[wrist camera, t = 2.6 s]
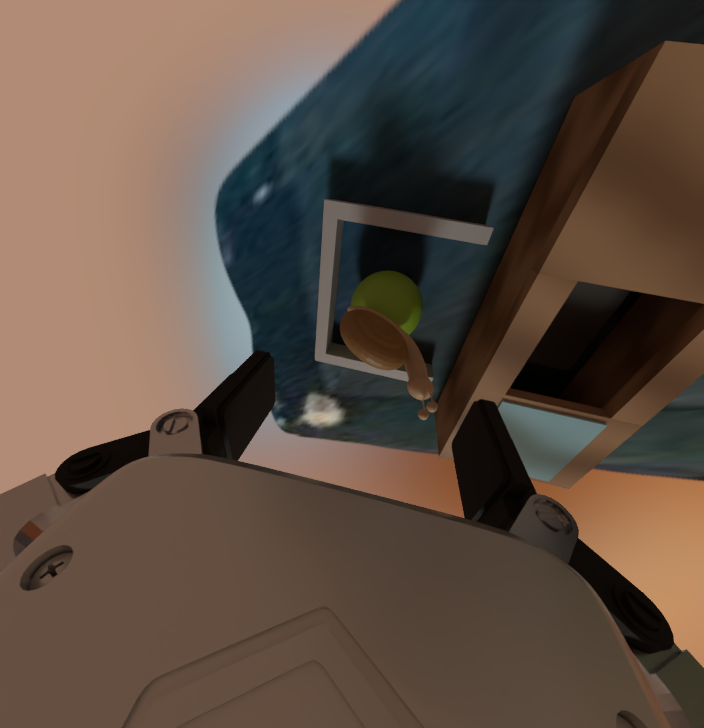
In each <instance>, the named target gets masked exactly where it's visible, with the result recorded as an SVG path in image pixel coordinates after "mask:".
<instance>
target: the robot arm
mask: <svg viewBox="0 0 704 728" xmlns="http://www.w3.org/2000/svg"><path fill="white" fill-rule="evenodd" d="M274 403H275V379H274V358H273V357H272V356H271V355H270V353H269V352H264V351H259V350H256V351H255V352H254V353H253V354H252V355H251V356H250V357H249V358H248V359H247V360H246V361H245V362H244V363H243V364H242V365H241V366H240V367H239V368H238V369H237V370H236V371H235V372H234V373H232V374H231V375H229V376H228V377H227V378H226V379H225V380H224V381H223V382H222V383H221V384H220V385H219V386H218V387H217V388H216V389H215V390H214V391H213V392H212V393H211V394H210V395H209V396H208V397H207V398H206V399H205V400H204V401H203V402H202V403H201V404H199V405H198V407H196V408H195V410H193V411H192V410H188V409H176V410H172V411H169V412H166V413H164V414H162V415H161V416H159V417H158V418H157V419H156V420H155V421H154V422H153V423H152V426H151V429H150V430H148V431H145V432H142V433H138V434H135V435H131V436H128V437H124V438H121V439H118V440H114V441H111V442H108V443H104V444H101V445H97V446H94V447H90V448H87V449H85V450H82V451H80V452H78V453H76V454H74V455H72V456H71V457H69V458H68V459H67V460H65V461H64V462H63V463H62V464H61V465H60V466H59V467H58V469H57V471H56V473H55V474H53V475H50V476H49V477H48V476H47V475H46V474H43V475H41V476H39V477H37V478H35V479H32V480H30V481H28V482H26V483H24V484H22V485H20V486H17V487H15V488H13V489H11V490H9V491H7V492H4V493H3V494H0V728H704V668H703V667H702V666H701V665H700V664H699V662H698V661H697V660H696V659H695V658H694V657H693V656H692V655H691V654H690V653H689V652H688V651H687V650H682V651H681V650H680V649H679V648H678V647H677V646H676V644H675V643H674V639H673V633H672V631H671V628H670V626H669V624H668V622H667V621H666V619H665V617H664V616H663V615H662V613H661V612H660V610H659V609H658V608H657V607H656V605H655V604H654V603H653V602H652V601H651V600H650V599H649V598H648V597H647V596H646V595H645V594H644V593H643V592H641V591H640V590H639V589H638V588H637V587H635V586H634V585H633V584H632V583H631V582H630V581H628V580H627V579H626V578H625V577H624V576H622V575H621V574H620V573H619V572H618V571H617V570H615V569H614V568H613V567H612V566H611V565H609V564H608V563H607V562H606V561H605V560H604V559H602V558H601V557H600V556H599V555H598V554H596V553H595V552H594V551H593V550H592V549H590V548H589V547H588V546H587V545H586V544H585V543H583V542H582V541H581V540H580V539H579V538H578V531H579V530H578V527H577V524H576V522H575V520H574V518H573V517H572V515H571V514H570V513H569V512H568V511H567V510H566V509H565V508H564V507H563V506H562V505H561V504H560V503H558V502H557V501H555V500H553V499H552V498H550V497H547V496H545V495H540V494H537V493H536V491H535V489H534V486H533V484H532V482H531V480H530V478H529V475H528V473H527V471H526V469H525V467H524V464H523V462H522V460H521V458H520V455H519V453H518V451H517V449H516V447H515V444H514V442H513V440H512V438H511V436H510V434H509V432H508V430H507V428H506V425H505V423H504V421H503V419H502V416H501V414H500V412H499V410H498V408H497V405H496V403H495V402H493V401H489V400H484V399H479V400H478V401H474V402H473V404H472V406H471V407H470V409H469V411H468V413H467V415H466V417H465V419H464V420H463V422H462V424H461V426H460V428H459V430H458V431H457V433H456V435H455V437H454V439H453V441H452V453H453V458H454V463H455V469H456V474H457V479H458V485H459V490H460V495H461V501H462V506H463V511H464V517H465V518H461V517H457V516H454V515H450V514H447V513H443V512H439V511H435V510H431V509H427V508H424V507H419V506H416V505H412V504H408V503H404V502H400V501H397V500H393V499H389V498H385V497H381V496H377V495H373V494H369V493H365V492H361V491H357V490H354V489H350V488H345V487H342V486H338V485H334V484H329V483H326V482H322V481H318V480H314V479H310V478H306V477H302V476H298V475H294V474H290V473H285V472H281V471H277V470H274V469H270V468H266V467H261V466H257V465H253V464H248V463H244V462H240V461H238V459H239V458H240V456H241V455H242V453H243V452H244V450H245V449H246V447H247V446H248V444H249V443H250V441H251V440H252V438H253V436H254V435H255V433H256V432H257V430H258V429H259V427H260V426H261V424H262V423H263V421H264V420H265V418H266V417H267V415H268V413H269V412H270V411H271V409H272V408H273V406H274Z"/></svg>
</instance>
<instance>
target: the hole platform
mask: <svg viewBox="0 0 704 728" xmlns="http://www.w3.org/2000/svg"><path fill="white" fill-rule="evenodd" d="M631 291H636V292H641V293H642V294H641V296H640V297H639V298H638V299H637V301H636V302H635V303H634V304H633V305H632V307H631V308H630V309H629V310H628V312H627V313H626V314H625V315H624V317H623V318H622V319H621V320H620V322H619V323H618V324H617V325H616V326H615V328H614V329H613V330H612V331H611V333H610V334H609V335H608V336H607V338H606V339H605V340H604V341H603V343H602V344H601V345H600V346H599V347H598V349H597V350H596V351H595V352H594V354H593V355H592V356H591V357H590V359H589V360H588V361H587V362H586V363H585V365H584V366H583V367H582V368H581V370H580V371H579V372H578V373H577V375H576V376H575V377H574V378H573V380H572V381H571V382H570V383H569V384H568V386H567V387H566V388H565V389H564V391H563V392H562V393H561V394H560V396H559V397H558V398H553V397H548V396H544V395H539V394H535V393H530V392H526V391H521V390H517V389H512V388H510V386H511V385H512V383H513V382H514V380H515V379H516V377H517V375H518V374H519V372H520V371H521V369H522V368H523V366H524V365H525V363H526V362H528V363H533V364H538V365H542V366H547V367H552V368H556V369H561V370H566V371H569V370H570V369H571V367H572V366H573V365H574V363H575V362H576V361H577V360H578V358H579V357H580V356H581V354H582V353H583V352H584V351H585V349H586V348H587V347H588V345H589V344H590V343H591V342H592V340H593V339H594V338H595V337H596V335H597V334H598V333H599V331H600V330H601V329H602V328H603V326H604V325H605V324H606V322H607V321H608V320H609V319H610V317H611V316H612V315H613V313H614V312H615V311H616V310H617V308H618V307H619V306H620V304H621V303H622V302H623V301H624V299H625V298H626V297H627V295H628V294H629V293H630V292H631ZM703 374H704V44H694V43H684V42H674V41H664V42H662V43H661V44H659V45H658V46H656V47H654V48H653V49H651V50H649V51H648V52H646V53H645V54H643V55H641V56H640V57H638V58H636V59H635V60H633V61H632V62H630V63H628V64H627V65H625V66H623V67H622V68H620V69H619V70H617V71H615V72H614V73H612V74H610V75H609V76H607V77H606V78H604V79H602V80H601V81H599V82H597V83H596V84H594V85H593V86H591V87H589V88H588V89H586V90H584V91H583V92H581V93H580V94H578V95H576V96H575V97H574V100H573V102H572V104H571V106H570V109H569V111H568V113H567V115H566V118H565V120H564V122H563V124H562V126H561V129H560V131H559V133H558V135H557V138H556V140H555V142H554V144H553V147H552V149H551V151H550V153H549V155H548V158H547V160H546V162H545V164H544V167H543V169H542V171H541V173H540V175H539V178H538V180H537V182H536V184H535V187H534V189H533V191H532V193H531V196H530V198H529V200H528V202H527V204H526V207H525V209H524V211H523V213H522V216H521V218H520V220H519V222H518V225H517V227H516V229H515V231H514V233H513V236H512V238H511V240H510V242H509V245H508V247H507V249H506V251H505V253H504V256H503V258H502V260H501V262H500V265H499V267H498V269H497V271H496V274H495V276H494V278H493V280H492V282H491V285H490V287H489V289H488V291H487V294H486V296H485V298H484V300H483V303H482V305H481V307H480V309H479V311H478V314H477V316H476V318H475V320H474V323H473V325H472V327H471V329H470V331H469V334H468V336H467V338H466V340H465V343H464V345H463V347H462V349H461V352H460V354H459V356H458V358H457V360H456V363H455V365H454V367H453V369H452V372H451V374H450V376H449V378H448V381H447V383H446V385H445V387H444V389H443V392H442V394H441V396H440V398H439V401H438V403H437V405H438V408H437V410H436V411H435V421H436V431H437V441H438V451H439V456H440V457H444V458H448V459H451V460H454V458H453V453H452V441H453V439H454V437H455V435H456V433H457V431H458V430H459V428H460V426H461V424H462V422H463V420H464V419H465V417H466V415H467V413H468V411H469V409H470V407H471V406H472V404H473V402H474V401H478V400H479V399H484V400H489V401H493V402H495V403H496V405H497V408H498V410H499V412H500V414H501V416H502V419H503V421H504V423H505V425H506V428H507V430H508V432H509V434H510V436H511V438H512V440H513V442H514V444H515V447H516V449H517V451H518V453H519V455H520V458H521V460H522V462H523V464H524V467H525V469H526V471H527V473H528V475H529V478H530V479H531V480H535V481H539V482H543V483H547V484H551V485H555V486H559V487H563V488H568V489H569V488H570V487H571V486H573V484H575V483H576V482H577V481H578V480H580V479H581V478H582V477H583V476H584V475H585V474H587V473H588V472H589V471H590V470H591V469H592V468H594V467H595V466H596V465H597V464H598V463H600V462H601V461H602V460H603V459H604V458H605V457H607V456H608V455H609V454H610V453H611V452H612V451H614V450H615V449H616V448H617V447H618V446H619V445H621V444H622V443H623V442H624V441H625V440H626V439H628V438H629V437H630V436H631V435H632V434H633V433H635V432H636V431H637V430H638V429H639V428H640V427H642V426H643V425H644V424H645V423H646V422H648V421H649V420H650V419H651V418H652V417H653V416H655V415H656V414H657V413H658V412H659V411H660V410H662V409H663V408H664V407H665V406H666V405H667V404H669V403H670V402H671V401H672V400H673V399H674V398H676V397H677V396H678V395H679V394H680V393H681V392H683V391H684V390H685V389H686V388H687V387H688V386H690V385H691V384H692V383H693V382H694V381H695V380H697V379H698V378H699V377H700V376H701V375H703Z"/></svg>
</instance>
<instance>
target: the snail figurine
mask: <svg viewBox="0 0 704 728" xmlns="http://www.w3.org/2000/svg"><path fill="white" fill-rule="evenodd" d="M422 308H423V304H422V297H421V294H420V291H419V289H418V288H417V286H416V285H415V283H414V282H413V281H412V280H411V279H410V278H409V277H407V276H406V275H404V274H402V273H399V272H396V271H380V272H376V273H374V274H371V275H370V276H368V277H366V278H365V279H364V280H363V281H362V282H361V283H360V284H359V285H358V287H357V288H356V290H355V292H354V294H353V297H352V300H351V306H349V307H348V312H347V313H346V314H345V315H344V316H343V317H342V319H341V322H340V332H341V336H342V338H343V341H344V342H345V344H346V345H347V347H348V348H349V349H350V350H351V352H352V353H353V354H354V355H356V356H357V357H358V358H359V359H360V360H362V361H363V362H365V363H366V364H368V365H370V366H372V367H375V368H377V369H381V370H388V371H389V370H395V369H398V368H399V367H401V366H402V365H403V364H404V365H405V369H406V372H407V375H408V378H409V380H408V383H407V388H408V391H409V393H410V394H411V395H412V396H413V397H414V398H416V399H419V400H421V401H422V404H423V409H421V410H420V411H419V412H418V416H419V418H420V419H422V420H425V419H427V418H428V416H429V412H435V411H436V410H437V408H438V405H437V403H436V402H434V401H433V397H432V393H433V384H432V382H431V381H430V379H429V378H428V375H427V369H426V365H425V362H424V359H423V357H422V355H421V353H420V350H419V349H418V347H417V345H416V344H415V342H414V340H413V339H412V338H411V336H410V334H411V333H412V332H413V331H414V329H415V328H416V326H417V325H418V323H419V321H420V318H421V315H422ZM429 397H431V400H432V401H430V402H429V403H428V404H427V410H428V411H429V412H428V411H427V410H426V409H425V407H424V400H425V399H428V398H429Z"/></svg>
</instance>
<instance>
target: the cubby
mask: <svg viewBox="0 0 704 728" xmlns="http://www.w3.org/2000/svg"><path fill="white" fill-rule="evenodd" d="M344 220H345V221H351V222H357V223H362V224H368V225H374V226H379V227H385V228H391V229H396V230H402V231H408V232H414V233H419V234H425V235H431V236H436V237H442V238H448V239H453V240H459V241H465V242H471V243H476V244H482V245H487V244H488V241H489V239H490V236H491V234H492V231H493V229H494V228H492V227H490V226H487V225H484V224H478V223H472V222H466V221H460V220H454V219H448V218H442V217H436V216H430V215H424V214H418V213H412V212H406V211H401V210H395V209H389V208H383V207H377V206H371V205H365V204H359V203H353V202H347V201H341V200H335V199H324V213H323V230H322V247H321V264H320V281H319V298H318V315H317V331H316V348H315V360H316V361H320V362H325V363H329V364H333V365H338V366H342V367H346V368H351V369H355V370H360V371H364V372H368V373H373V374H377V375H382V376H386V377H390V378H395V379H399V380H404V381H408V380H409V378H408V375H407V372H406V369H405V365H404V364H403V365H402V366H401V367H399V368H398V369H395V370H389V371H388V370H381V369H377V368H375V367H372V366H370V365H368V364H366V363H365V362H363V361H362V360H360V359H359V358H358V357H357V356H356V355H354V354H353V353H352V352H351V350H350V349H349V348H348V347H347V346H345V345H340V344H336V343H332V336H333V326H334V316H335V306H336V296H337V286H338V276H339V267H340V257H341V247H342V237H343V227H344ZM425 365H426V369H427V375H428V378H429V379H430V381H431V382H432V380H433V371H432V365H431V364H427V363H425Z"/></svg>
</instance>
